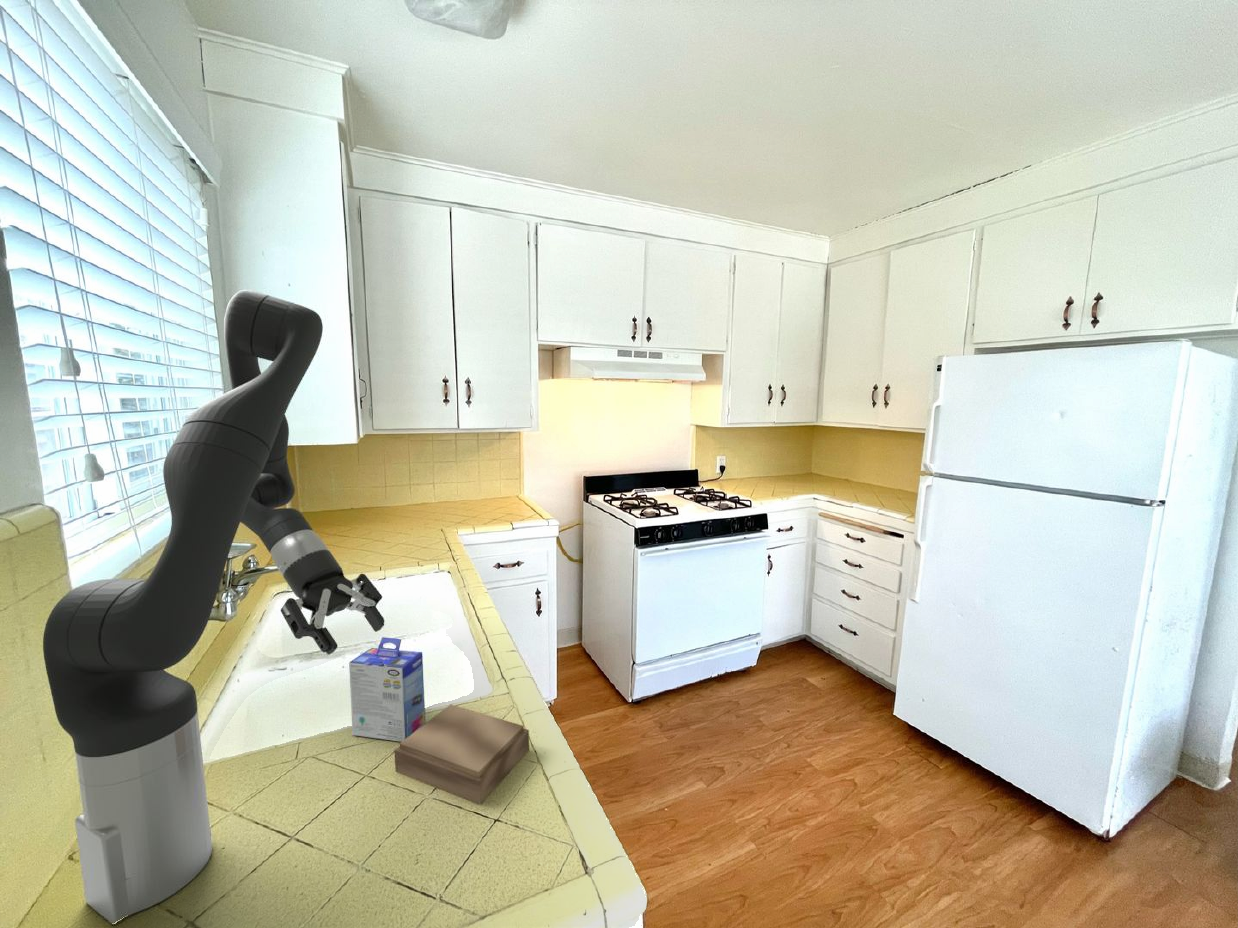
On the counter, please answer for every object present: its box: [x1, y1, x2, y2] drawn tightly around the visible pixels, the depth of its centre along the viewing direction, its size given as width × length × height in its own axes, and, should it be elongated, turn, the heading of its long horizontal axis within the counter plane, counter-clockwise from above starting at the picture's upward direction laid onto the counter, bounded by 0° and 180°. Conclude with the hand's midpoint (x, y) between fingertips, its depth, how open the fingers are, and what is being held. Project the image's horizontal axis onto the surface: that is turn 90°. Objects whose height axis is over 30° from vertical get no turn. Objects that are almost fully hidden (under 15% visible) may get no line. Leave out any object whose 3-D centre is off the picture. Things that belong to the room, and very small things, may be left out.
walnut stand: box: [393, 704, 530, 805], centre depth 69 cm, size 11×15×4 cm
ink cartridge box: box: [348, 636, 427, 743], centre depth 76 cm, size 10×6×14 cm, turn 78°
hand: (358, 639), depth 78 cm, fingers open, 8 cm apart
